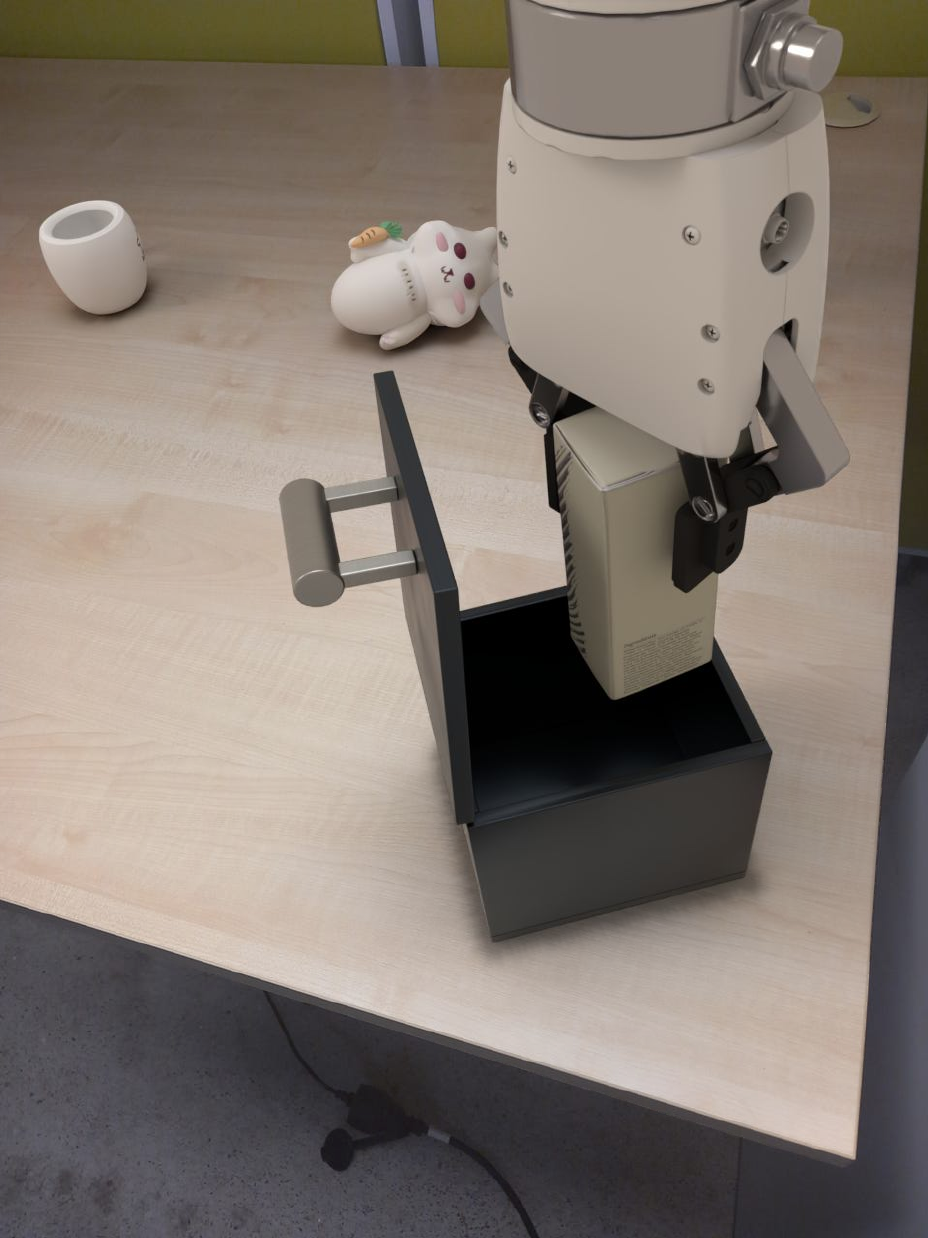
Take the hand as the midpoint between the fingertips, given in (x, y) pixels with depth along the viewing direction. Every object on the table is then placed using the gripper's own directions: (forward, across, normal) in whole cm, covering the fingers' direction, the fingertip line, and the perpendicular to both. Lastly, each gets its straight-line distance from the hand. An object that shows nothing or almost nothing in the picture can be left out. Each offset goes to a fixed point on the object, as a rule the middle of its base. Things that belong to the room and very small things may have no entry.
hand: (640, 526), depth 40 cm
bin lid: (+2, +4, +7) cm, 9 cm away
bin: (+21, +1, +2) cm, 21 cm away
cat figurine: (+21, +43, -23) cm, 53 cm away
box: (+8, 0, 0) cm, 8 cm away
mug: (+21, +71, -8) cm, 75 cm away
